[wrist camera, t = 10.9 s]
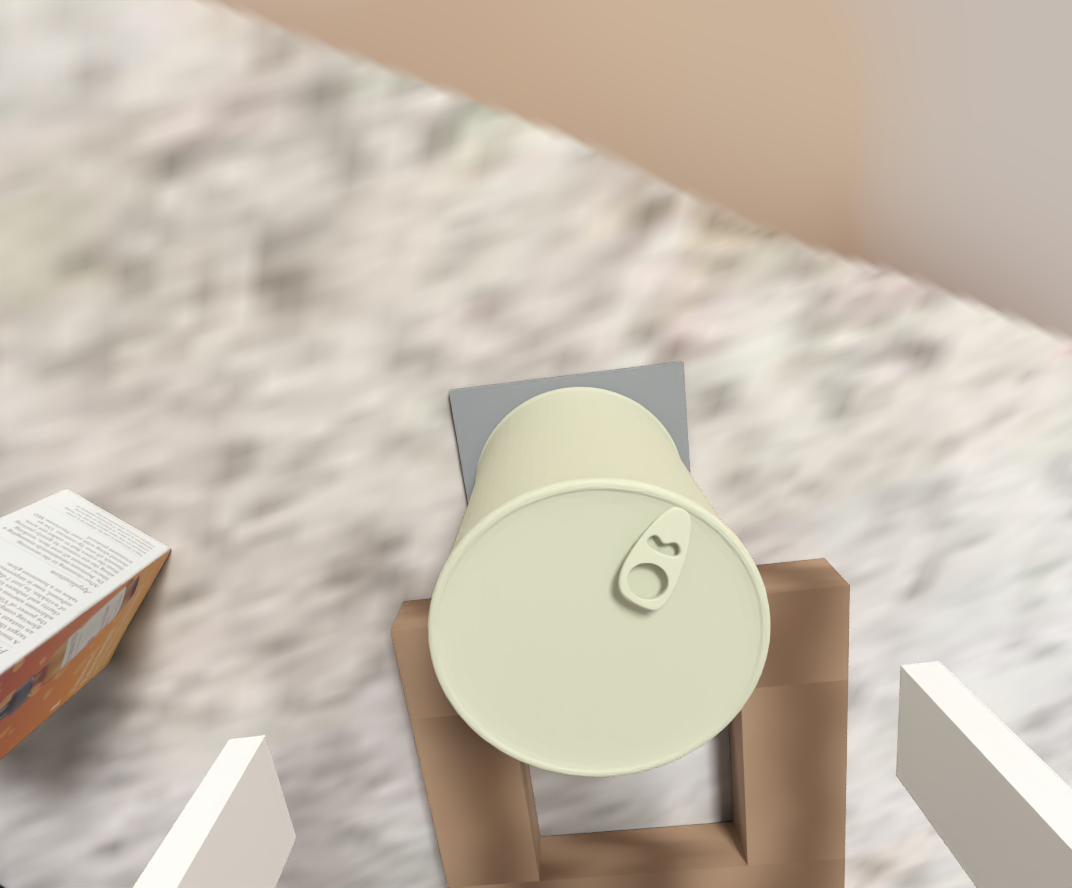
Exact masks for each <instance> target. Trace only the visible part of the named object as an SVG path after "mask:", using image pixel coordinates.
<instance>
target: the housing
mask: <svg viewBox="0 0 1072 888" xmlns="http://www.w3.org/2000/svg"><path fill="white" fill-rule="evenodd" d="M756 567H757V568H758V570H759V573H760V575H761V578H762V580H763V583H764V586H765V589H766V594H767V599H768V604H769V611H770V643H769V648H768V653H767V658H766V661H765V664H764V668H763V671H762V674H761V676H760V678H759V681H758V683H757V685H756V687H755V689H754V691H753V693H752V695H751V696H750V697H749V699H748V700H747V702H746V703H745V705H744V706H743V708H742V709H741V711H740V712H739V713H738V714H737V715H736V716H735V717H734V719H733V720H732V721H731V722H730V723H729V739H730V760H731V781H732V802H733V822H723V823H710V824H698V825H685V826H672V827H659V828H646V829H634V830H621V831H608V832H595V833H583V834H570V835H557V836H544V837H540V831H539V825H538V819H537V813H536V807H535V801H534V794H533V788H532V782H531V776H530V770H529V764H527V763H524V762H521V761H519V760H517V759H515V758H513V757H511V756H509V755H507V754H505V753H503V752H502V751H500V750H499V749H497V748H496V747H494V746H493V745H491V744H490V743H488V742H487V741H486V740H484V739H483V738H482V737H480V736H479V735H478V734H477V733H476V732H475V731H474V730H473V729H472V728H470V727H469V725H468V724H467V723H466V722H465V721H464V720H463V719H462V718H461V717H460V715H459V714H458V713H457V712H456V710H455V709H454V707H453V706H452V704H451V703H450V702H449V700H448V699H447V697H446V695H445V693H444V691H443V689H442V687H441V685H440V683H439V681H438V679H437V676H436V673H435V671H434V667H433V663H432V659H431V654H430V648H429V642H428V616H429V609H430V603H431V599H422V600H412V601H404V602H403V604H402V606H401V608H400V611H399V613H398V615H397V618H396V620H395V622H394V624H393V627H392V629H391V636H392V640H393V645H394V649H395V653H396V658H397V662H398V667H399V671H400V676H401V680H402V685H403V689H404V694H405V698H406V702H407V707H408V711H409V716H410V720H411V725H412V729H413V734H414V738H415V743H416V747H417V752H418V756H419V760H420V765H421V769H422V774H423V778H424V783H425V787H426V792H427V796H428V801H429V805H430V809H431V814H432V818H433V823H434V827H435V832H436V836H437V841H438V845H439V850H440V854H441V858H442V863H443V867H444V872H445V876H446V881H447V885H448V888H844V877H845V821H846V766H847V711H848V655H849V600H850V585H849V584H848V583H847V582H846V581H845V580H844V579H843V578H842V577H841V575H840V574H839V573H838V572H837V571H836V570H835V569H834V568H833V567H832V566H831V565H830V564H829V563H828V561H827V560H826V559H825V558H821V559H812V560H802V561H792V562H782V563H773V564H763V565H756Z"/></svg>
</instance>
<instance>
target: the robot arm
mask: <svg viewBox="0 0 1072 888" xmlns="http://www.w3.org/2000/svg"><path fill="white" fill-rule="evenodd" d="M896 776H897V777H898V779H899V780H900V782H901V783H902V784H903V786H904V787H905V788H906V790H907V791H908V793H909V794H910V795H911V797H912V798H913V800H914V801H915V802H916V804H917V805H918V807H919V808H920V809H921V811H922V812H923V814H924V815H925V816H926V818H927V819H928V821H929V822H930V823H931V825H932V826H933V828H934V829H935V830H936V832H937V833H938V835H939V836H940V837H941V839H942V840H943V841H944V843H945V844H946V846H947V847H948V848H949V850H950V851H951V853H952V854H953V855H954V857H955V858H956V860H957V861H958V862H959V864H960V865H961V867H962V868H963V869H964V871H965V872H966V874H967V875H968V876H969V878H970V879H971V881H972V882H973V883H974V885H975V886H976V888H1072V789H1071V788H1070V787H1069V786H1068V785H1067V784H1066V783H1065V782H1064V781H1063V780H1062V779H1061V778H1060V777H1059V776H1058V775H1057V774H1056V773H1055V772H1054V771H1053V770H1052V769H1050V768H1049V767H1048V766H1047V765H1046V764H1045V763H1044V762H1043V761H1042V760H1041V759H1040V758H1039V757H1038V756H1037V755H1036V754H1035V753H1034V752H1033V751H1032V750H1031V749H1030V748H1029V747H1028V746H1027V745H1026V744H1025V743H1024V742H1022V741H1021V740H1020V739H1019V738H1018V737H1017V736H1016V735H1015V734H1014V733H1013V732H1012V731H1011V730H1010V729H1009V728H1008V727H1007V726H1006V725H1005V724H1004V723H1003V722H1002V721H1001V720H1000V719H999V718H998V717H997V716H996V715H994V714H993V713H992V712H991V711H990V710H989V709H988V708H987V707H986V706H985V705H984V704H983V703H982V702H981V701H980V700H979V699H978V698H977V697H976V696H975V695H974V694H973V693H972V692H971V691H970V690H969V689H968V688H966V687H965V686H964V685H963V684H962V683H961V682H960V681H959V680H958V679H957V678H956V677H955V676H954V675H953V674H952V673H951V672H950V671H949V670H948V669H947V668H946V667H945V666H944V665H943V664H942V663H941V662H940V661H935V662H926V663H916V664H907V665H901V667H900V692H899V716H898V740H897V765H896ZM295 840H296V835H295V832H294V829H293V825H292V822H291V819H290V815H289V812H288V809H287V805H286V802H285V799H284V796H283V792H282V789H281V786H280V782H279V779H278V776H277V772H276V769H275V766H274V762H273V759H272V756H271V752H270V749H269V746H268V742H267V739H266V736H265V735H263V736H254V737H245V738H236V739H229V741H228V742H227V744H226V745H225V747H224V749H223V750H222V752H221V753H220V755H219V756H218V758H217V759H216V761H215V762H214V764H213V765H212V767H211V769H210V770H209V772H208V773H207V775H206V776H205V778H204V779H203V781H202V782H201V784H200V785H199V787H198V788H197V790H196V792H195V793H194V795H193V796H192V798H191V799H190V801H189V802H188V804H187V805H186V807H185V808H184V810H183V811H182V813H181V815H180V816H179V818H178V819H177V821H176V822H175V824H174V825H173V827H172V828H171V830H170V831H169V833H168V835H167V836H166V838H165V839H164V841H163V842H162V844H161V845H160V847H159V848H158V850H157V851H156V853H155V854H154V856H153V858H152V859H151V861H150V862H149V864H148V865H147V867H146V868H145V870H144V871H143V873H142V874H141V876H140V878H139V879H138V881H137V882H136V884H135V885H134V887H133V888H275V887H276V885H277V883H278V880H279V878H280V875H281V873H282V871H283V868H284V866H285V864H286V861H287V859H288V856H289V854H290V852H291V849H292V847H293V845H294V842H295Z"/></svg>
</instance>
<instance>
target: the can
mask: <svg viewBox="0 0 1072 888" xmlns="http://www.w3.org/2000/svg"><path fill="white" fill-rule="evenodd" d="M428 642H429V648H430V654H431V659H432V663H433V667H434V671H435V673H436V676H437V679H438V681H439V683H440V685H441V687H442V689H443V691H444V693H445V695H446V697H447V699H448V700H449V702H450V703H451V704H452V706H453V707H454V709H455V710H456V712H457V713H458V714H459V715H460V717H461V718H462V719H463V720H464V721H465V722H466V723H467V724H468V725H469V727H470V728H472V729H473V730H474V731H475V732H476V733H477V734H478V735H479V736H480V737H482V738H483V739H484V740H486V741H487V742H488V743H490V744H491V745H493V746H494V747H496V748H497V749H499V750H500V751H502V752H503V753H505V754H507V755H509V756H511V757H513V758H515V759H517V760H519V761H521V762H524V763H527V764H529V765H532V766H535V767H537V768H540V769H544V770H548V771H552V772H557V773H561V774H566V775H575V776H583V777H609V776H621V775H627V774H633V773H638V772H643V771H647V770H650V769H653V768H657V767H660V766H663V765H666V764H668V763H671V762H673V761H675V760H678V759H680V758H682V757H683V756H685V755H687V754H689V753H691V752H693V751H695V750H696V749H698V748H700V747H701V746H703V745H704V744H705V743H707V742H708V741H709V740H711V739H712V738H714V737H715V736H716V735H717V734H718V733H719V732H721V731H722V730H723V729H724V728H725V727H726V726H727V725H728V724H729V723H730V722H731V721H732V720H733V719H734V717H735V716H736V715H737V714H738V713H739V712H740V711H741V709H742V708H743V706H744V705H745V703H746V702H747V700H748V699H749V697H750V696H751V695H752V693H753V691H754V689H755V687H756V685H757V683H758V681H759V678H760V676H761V674H762V671H763V668H764V664H765V661H766V658H767V653H768V648H769V643H770V611H769V604H768V599H767V594H766V589H765V586H764V583H763V580H762V578H761V575H760V573H759V570H758V568H757V567H756V565H755V563H754V561H753V559H752V557H751V556H750V554H749V552H748V551H747V549H746V548H745V546H744V545H743V544H742V542H741V541H740V540H739V539H738V537H737V536H736V535H735V534H734V533H733V532H732V531H731V530H730V528H729V527H728V526H727V525H726V524H725V523H724V522H723V521H722V519H721V518H720V517H719V515H718V514H717V512H716V511H715V509H714V508H713V507H712V505H711V504H710V502H709V501H708V499H707V498H706V496H705V495H704V493H703V492H702V490H701V489H700V488H699V486H698V485H697V483H696V482H695V480H694V479H693V477H692V476H691V474H690V473H689V471H688V470H687V468H686V467H685V465H684V464H683V462H682V461H681V459H680V456H679V453H678V450H677V448H676V445H675V443H674V441H673V440H672V438H671V436H670V434H669V433H668V431H667V430H666V429H665V427H664V426H663V425H662V423H661V422H660V421H659V420H658V419H657V418H656V417H655V416H654V415H653V414H652V413H651V412H649V411H648V410H647V409H646V408H644V407H643V406H642V405H640V404H639V403H637V402H635V401H634V400H632V399H630V398H628V397H626V396H623V395H621V394H618V393H616V392H612V391H609V390H605V389H600V388H592V387H569V388H561V389H556V390H552V391H549V392H546V393H543V394H540V395H538V396H535V397H533V398H531V399H529V400H527V401H525V402H524V403H522V404H521V405H519V406H518V407H516V408H515V409H514V410H512V411H511V412H510V413H509V414H508V415H506V416H505V417H504V418H503V419H502V420H501V422H500V423H499V424H498V425H497V426H496V428H495V429H494V430H493V432H492V433H491V435H490V436H489V438H488V439H487V441H486V443H485V445H484V447H483V450H482V452H481V455H480V458H479V461H478V465H477V470H476V477H475V485H474V488H473V492H472V495H471V498H470V501H469V504H468V506H467V509H466V512H465V515H464V517H463V520H462V523H461V525H460V528H459V531H458V534H457V536H456V539H455V542H454V545H453V547H452V550H451V553H450V555H449V557H448V559H447V561H446V562H445V564H444V566H443V568H442V570H441V572H440V574H439V576H438V579H437V582H436V585H435V588H434V591H433V595H432V599H431V603H430V609H429V616H428Z"/></svg>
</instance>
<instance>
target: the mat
mask: <svg viewBox="0 0 1072 888" xmlns="http://www.w3.org/2000/svg"><path fill="white" fill-rule="evenodd" d="M569 387H592V388H600V389H605V390H609V391H612V392H616V393H618V394H621V395H623V396H626V397H628V398H630V399H632V400H634V401H635V402H637V403H639V404H640V405H642V406H643V407H644V408H646V409H647V410H648V411H649V412H651V413H652V414H653V415H654V416H655V417H656V418H657V419H658V420H659V421H660V422H661V423H662V425H663V426H664V427H665V429H666V430H667V431H668V433H669V434H670V436H671V438H672V440H673V441H674V443H675V445H676V448H677V450H678V453H679V456H680V459H681V461H682V462H683V464H684V465H685V467H686V468H687V470H688V471H689V473H690V460H689V444H688V427H687V411H686V395H685V378H684V363H683V362H682V361H680V362H672V363H664V364H656V365H648V366H640V367H632V368H623V369H615V370H607V371H599V372H591V373H583V374H575V375H567V376H558V377H550V378H542V379H534V380H526V381H518V382H510V383H502V384H493V385H485V386H477V387H469V388H461V389H453V390H450V391H449V396H450V401H451V407H452V413H453V419H454V425H455V431H456V436H457V442H458V448H459V454H460V460H461V465H462V471H463V477H464V483H465V489H466V495H467V500H468V504H469V501H470V498H471V495H472V492H473V488H474V485H475V477H476V470H477V465H478V461H479V458H480V455H481V452H482V450H483V447H484V445H485V443H486V441H487V439H488V438H489V436H490V435H491V433H492V432H493V430H494V429H495V428H496V426H497V425H498V424H499V423H500V422H501V420H502V419H503V418H504V417H505V416H506V415H508V414H509V413H510V412H511V411H512V410H514V409H515V408H516V407H518V406H519V405H521V404H522V403H524V402H525V401H527V400H529V399H531V398H533V397H535V396H538V395H540V394H543V393H546V392H549V391H552V390H556V389H561V388H569Z"/></svg>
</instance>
